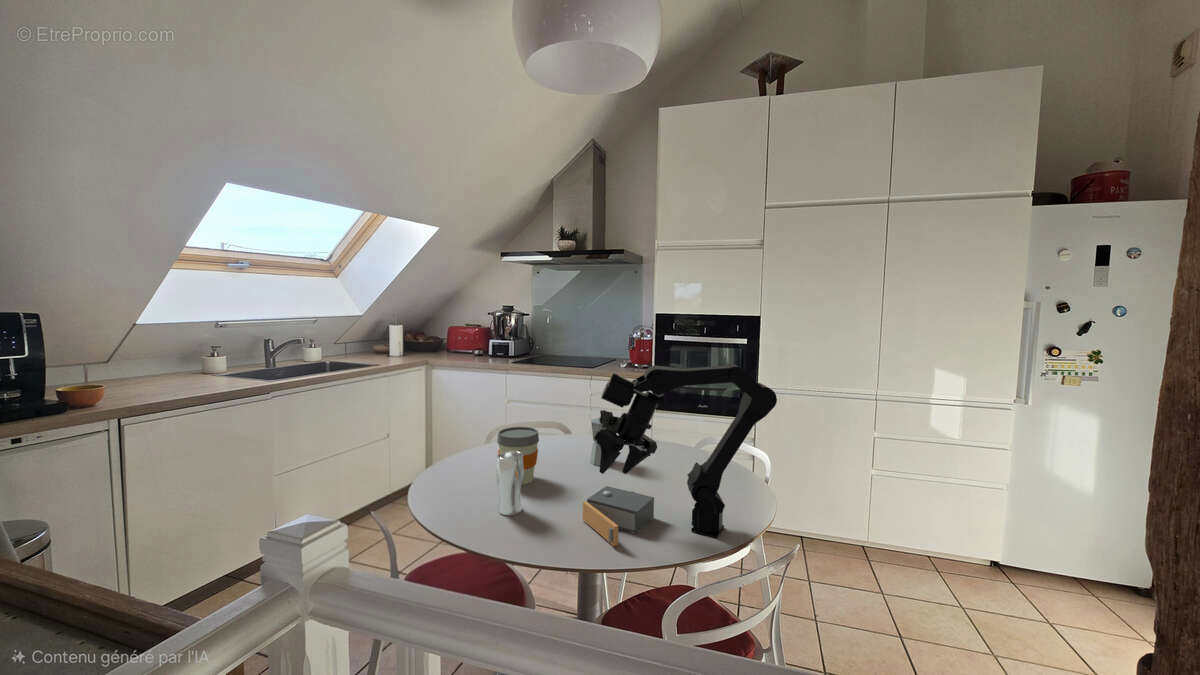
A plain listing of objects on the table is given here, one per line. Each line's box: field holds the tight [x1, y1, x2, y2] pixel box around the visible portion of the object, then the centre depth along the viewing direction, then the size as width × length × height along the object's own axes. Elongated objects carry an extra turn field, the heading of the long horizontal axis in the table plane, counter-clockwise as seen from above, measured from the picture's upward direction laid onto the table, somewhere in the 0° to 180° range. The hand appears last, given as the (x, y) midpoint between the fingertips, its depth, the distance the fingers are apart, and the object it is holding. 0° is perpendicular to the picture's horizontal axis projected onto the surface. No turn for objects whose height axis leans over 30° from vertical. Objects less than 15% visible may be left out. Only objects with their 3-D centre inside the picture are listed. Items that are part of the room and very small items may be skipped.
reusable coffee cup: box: [497, 426, 540, 486], centre depth 150 cm, size 13×13×15 cm
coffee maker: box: [589, 409, 617, 467], centre depth 166 cm, size 15×9×18 cm, turn 25°
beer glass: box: [495, 451, 524, 517], centre depth 129 cm, size 7×7×15 cm
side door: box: [582, 500, 619, 547], centre depth 117 cm, size 15×2×5 cm, turn 30°
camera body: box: [586, 485, 655, 535], centre depth 126 cm, size 14×12×6 cm
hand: (612, 472), depth 119 cm, fingers open, 9 cm apart
